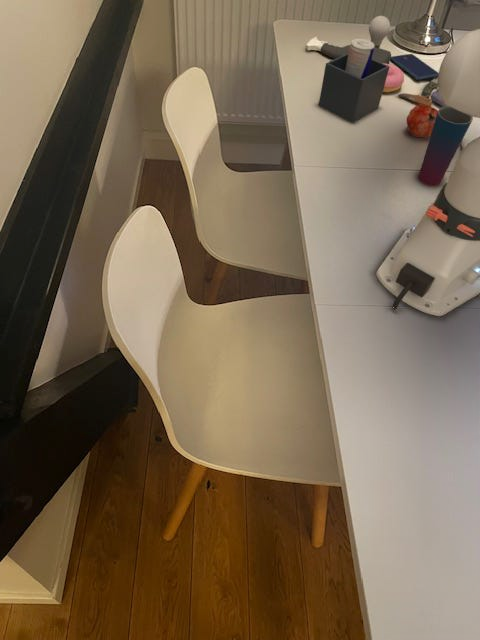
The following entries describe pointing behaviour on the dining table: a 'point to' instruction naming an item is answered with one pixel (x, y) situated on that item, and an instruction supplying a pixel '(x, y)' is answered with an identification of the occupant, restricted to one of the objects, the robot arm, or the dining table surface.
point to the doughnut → (393, 79)
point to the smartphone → (414, 66)
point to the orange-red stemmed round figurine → (421, 120)
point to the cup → (443, 144)
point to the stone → (416, 98)
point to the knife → (430, 87)
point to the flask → (437, 98)
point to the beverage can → (359, 57)
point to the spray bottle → (345, 50)
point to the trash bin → (352, 89)
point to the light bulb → (379, 30)
